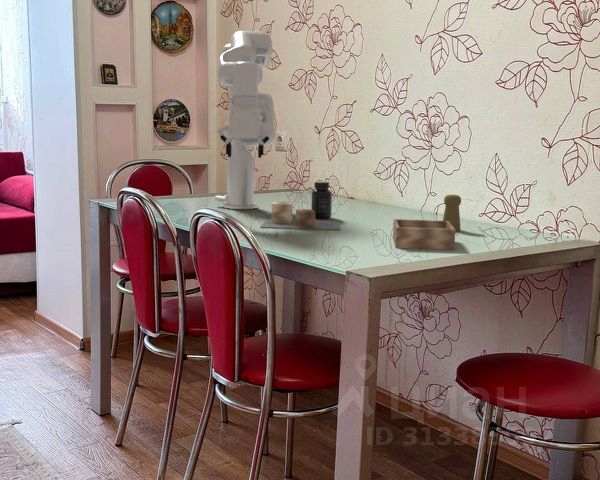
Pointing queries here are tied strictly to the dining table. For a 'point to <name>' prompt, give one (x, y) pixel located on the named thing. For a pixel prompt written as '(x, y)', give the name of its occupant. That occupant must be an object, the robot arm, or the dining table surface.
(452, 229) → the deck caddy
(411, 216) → the dining table surface
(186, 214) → the dining table surface
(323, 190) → the supplement bottle
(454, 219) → the cork
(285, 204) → the maple block
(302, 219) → the walnut block
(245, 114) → the robot arm
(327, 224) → the mat
